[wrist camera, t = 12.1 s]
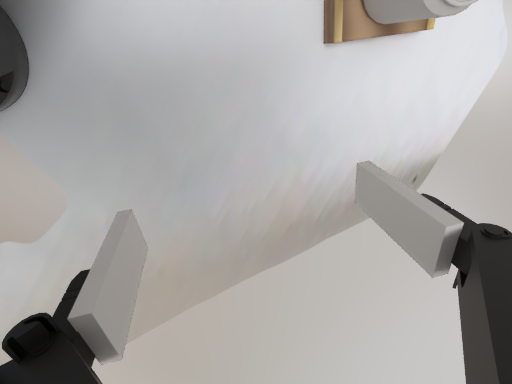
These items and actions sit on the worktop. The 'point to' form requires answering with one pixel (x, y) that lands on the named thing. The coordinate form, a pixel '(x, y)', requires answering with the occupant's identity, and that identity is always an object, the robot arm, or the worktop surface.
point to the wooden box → (361, 22)
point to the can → (413, 9)
